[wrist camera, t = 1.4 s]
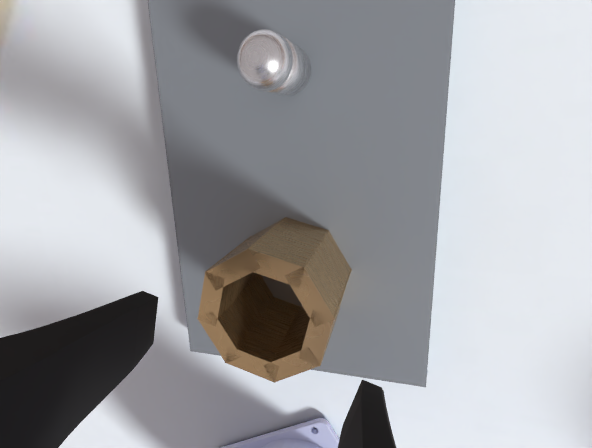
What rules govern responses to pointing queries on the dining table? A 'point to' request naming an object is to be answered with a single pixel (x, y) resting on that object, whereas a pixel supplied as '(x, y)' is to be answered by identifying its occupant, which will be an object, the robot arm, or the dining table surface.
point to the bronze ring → (275, 300)
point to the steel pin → (273, 63)
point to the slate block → (315, 157)
